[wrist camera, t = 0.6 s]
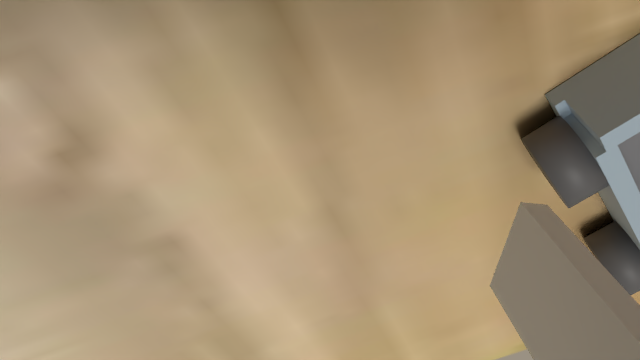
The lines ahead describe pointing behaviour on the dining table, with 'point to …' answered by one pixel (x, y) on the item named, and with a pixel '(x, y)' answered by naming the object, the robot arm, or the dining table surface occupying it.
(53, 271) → the dining table surface
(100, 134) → the dining table surface
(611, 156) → the chassis
